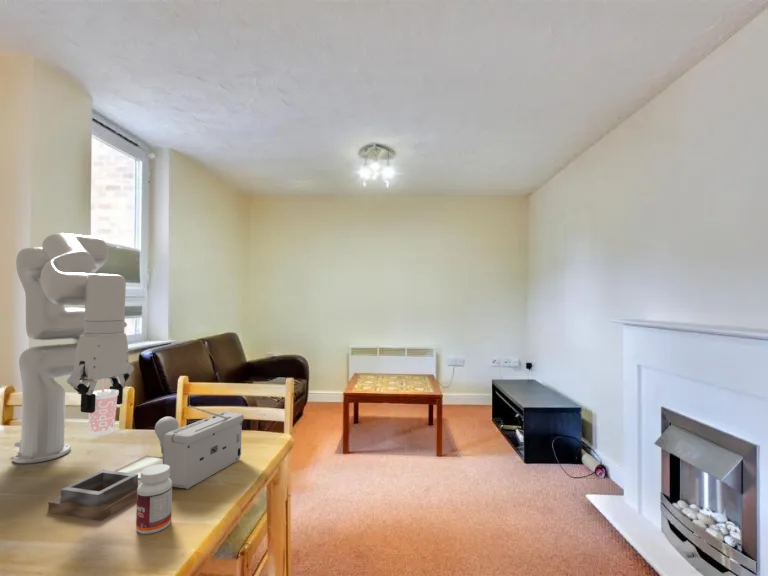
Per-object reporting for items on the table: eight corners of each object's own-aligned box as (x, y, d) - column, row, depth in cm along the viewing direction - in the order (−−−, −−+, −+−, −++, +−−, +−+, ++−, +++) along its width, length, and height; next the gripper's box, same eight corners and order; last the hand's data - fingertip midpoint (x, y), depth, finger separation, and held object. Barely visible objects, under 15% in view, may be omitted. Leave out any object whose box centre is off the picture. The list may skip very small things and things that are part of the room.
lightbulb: (167, 459, 112) (168, 420, 112) (149, 458, 113) (149, 419, 114) (182, 451, 118) (183, 414, 118) (164, 450, 119) (165, 413, 120)
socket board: (48, 511, 85) (48, 490, 85) (146, 462, 110) (147, 446, 110) (101, 520, 82) (101, 498, 82) (190, 468, 107) (190, 451, 107)
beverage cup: (81, 438, 86) (84, 373, 86) (87, 429, 91) (89, 368, 91) (115, 434, 88) (117, 371, 89) (119, 426, 94) (121, 366, 94)
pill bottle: (131, 526, 79) (132, 469, 80) (164, 514, 84) (165, 460, 84) (142, 539, 75) (144, 479, 76) (176, 525, 80) (177, 468, 80)
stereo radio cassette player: (222, 455, 116) (223, 386, 116) (245, 459, 113) (246, 389, 113) (160, 487, 96) (161, 404, 97) (186, 493, 93) (188, 407, 94)
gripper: (124, 325, 99) (121, 397, 99) (52, 330, 83) (49, 417, 82) (149, 326, 98) (147, 399, 97) (80, 332, 81) (78, 421, 80)
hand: (102, 407), depth 90 cm, fingers closed on beverage cup, 6 cm apart
